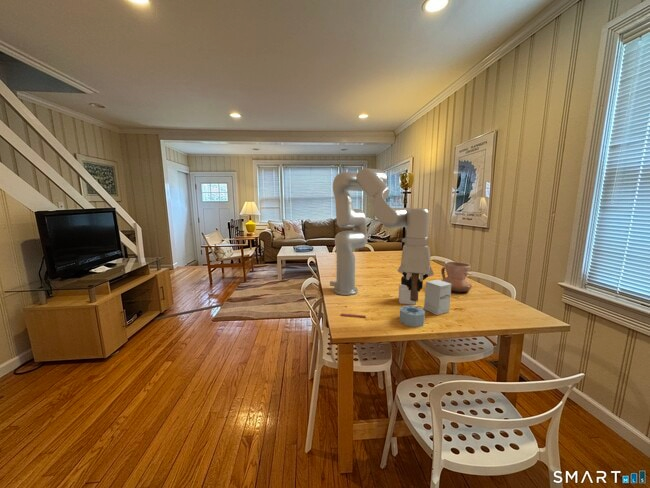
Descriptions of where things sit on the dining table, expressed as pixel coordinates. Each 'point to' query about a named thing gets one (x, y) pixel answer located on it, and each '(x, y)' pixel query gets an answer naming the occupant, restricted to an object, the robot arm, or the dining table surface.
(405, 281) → the medicine bottle
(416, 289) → the needle
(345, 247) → the robot arm
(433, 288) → the supplement box
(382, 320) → the dining table surface
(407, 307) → the bead
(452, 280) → the ceramic jug
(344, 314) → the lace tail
